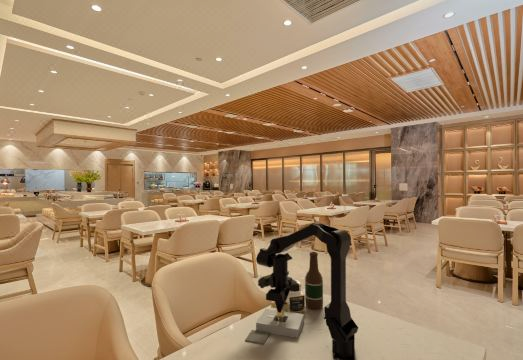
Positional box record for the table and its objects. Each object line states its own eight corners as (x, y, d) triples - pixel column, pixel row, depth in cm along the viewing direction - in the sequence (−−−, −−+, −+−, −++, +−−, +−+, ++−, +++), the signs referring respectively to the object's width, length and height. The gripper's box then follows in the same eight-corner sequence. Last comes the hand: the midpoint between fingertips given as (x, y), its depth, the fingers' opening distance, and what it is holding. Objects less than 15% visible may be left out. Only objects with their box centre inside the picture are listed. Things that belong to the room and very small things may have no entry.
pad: (269, 333, 102) (269, 332, 102) (263, 344, 96) (263, 343, 96) (251, 330, 104) (251, 329, 104) (244, 341, 98) (244, 339, 98)
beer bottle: (323, 311, 120) (322, 255, 120) (304, 309, 121) (304, 254, 121) (322, 303, 127) (322, 250, 128) (305, 301, 129) (305, 250, 129)
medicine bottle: (289, 313, 118) (289, 285, 118) (283, 306, 125) (283, 279, 125) (305, 311, 120) (304, 283, 120) (298, 304, 127) (298, 277, 127)
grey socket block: (303, 321, 111) (303, 313, 111) (298, 337, 99) (298, 329, 99) (265, 315, 116) (265, 308, 116) (256, 330, 104) (256, 322, 104)
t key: (273, 317, 110) (273, 299, 110) (290, 320, 108) (290, 302, 108) (270, 321, 107) (270, 303, 107) (288, 324, 105) (288, 305, 105)
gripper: (267, 261, 119) (267, 297, 119) (252, 275, 101) (252, 318, 101) (293, 263, 116) (293, 301, 116) (281, 278, 98) (282, 323, 98)
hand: (280, 310), depth 108 cm, fingers closed on t key, 3 cm apart
